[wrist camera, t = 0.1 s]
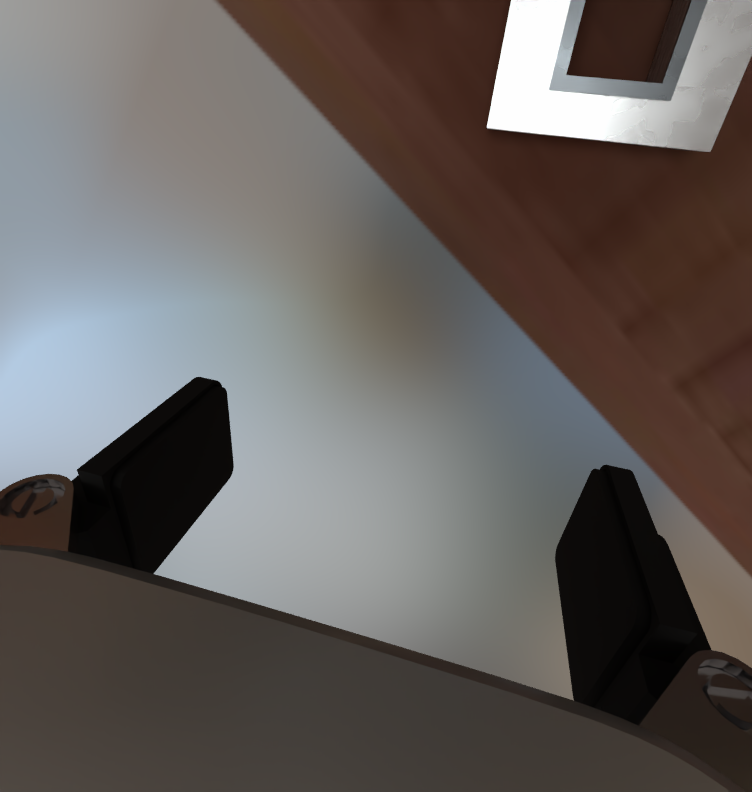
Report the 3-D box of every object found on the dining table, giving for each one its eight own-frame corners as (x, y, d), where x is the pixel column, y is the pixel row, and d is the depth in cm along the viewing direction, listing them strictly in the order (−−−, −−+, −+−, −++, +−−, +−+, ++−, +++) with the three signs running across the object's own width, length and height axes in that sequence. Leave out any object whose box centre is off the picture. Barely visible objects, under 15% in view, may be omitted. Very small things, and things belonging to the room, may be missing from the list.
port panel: (532, -98, 27) (537, -135, 24) (784, -91, 25) (833, -130, 21) (488, 129, 33) (486, 127, 30) (687, 150, 31) (712, 152, 28)
